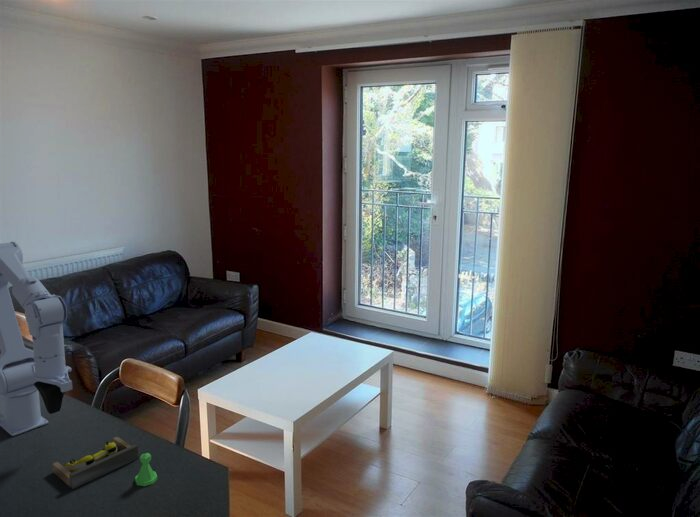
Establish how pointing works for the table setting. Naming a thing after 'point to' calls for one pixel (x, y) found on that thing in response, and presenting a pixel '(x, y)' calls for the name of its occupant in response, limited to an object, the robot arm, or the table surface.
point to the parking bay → (98, 465)
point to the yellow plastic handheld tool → (91, 458)
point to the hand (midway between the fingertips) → (54, 411)
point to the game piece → (145, 472)
